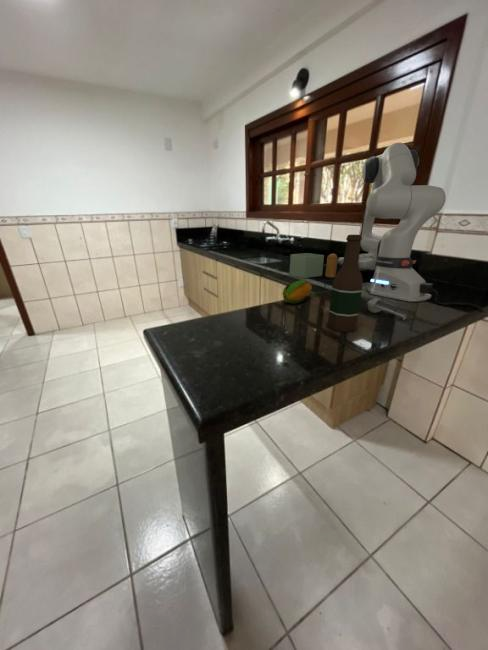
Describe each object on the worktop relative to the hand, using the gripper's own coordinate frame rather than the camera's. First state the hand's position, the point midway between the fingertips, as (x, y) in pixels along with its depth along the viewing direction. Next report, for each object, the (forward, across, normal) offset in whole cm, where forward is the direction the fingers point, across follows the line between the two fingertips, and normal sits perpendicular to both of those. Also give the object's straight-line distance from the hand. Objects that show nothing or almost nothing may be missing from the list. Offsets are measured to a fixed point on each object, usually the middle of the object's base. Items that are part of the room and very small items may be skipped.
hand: (343, 263), depth 140 cm
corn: (+50, +32, +7) cm, 60 cm away
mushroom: (+34, +57, +7) cm, 67 cm away
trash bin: (+18, -9, +6) cm, 21 cm away
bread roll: (+8, 0, +6) cm, 10 cm away
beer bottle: (+54, +60, +7) cm, 81 cm away
